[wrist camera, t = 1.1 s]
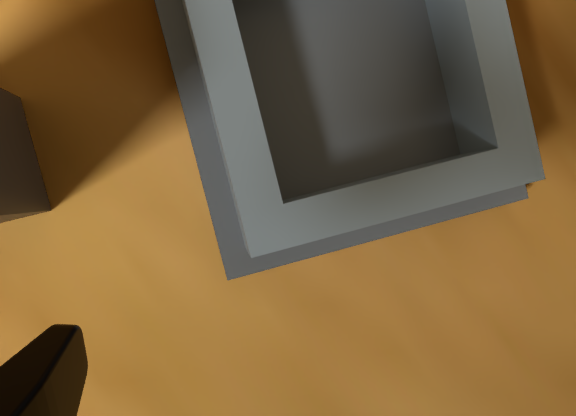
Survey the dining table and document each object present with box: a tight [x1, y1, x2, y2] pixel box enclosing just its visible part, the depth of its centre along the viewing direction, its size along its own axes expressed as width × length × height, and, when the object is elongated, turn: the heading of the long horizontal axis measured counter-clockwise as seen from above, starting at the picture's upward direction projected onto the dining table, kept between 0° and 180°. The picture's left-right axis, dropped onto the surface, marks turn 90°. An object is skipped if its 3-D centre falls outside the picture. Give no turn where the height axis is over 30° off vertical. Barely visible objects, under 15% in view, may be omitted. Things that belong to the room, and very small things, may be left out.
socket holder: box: [155, 0, 545, 280], centre depth 20 cm, size 13×13×4 cm
